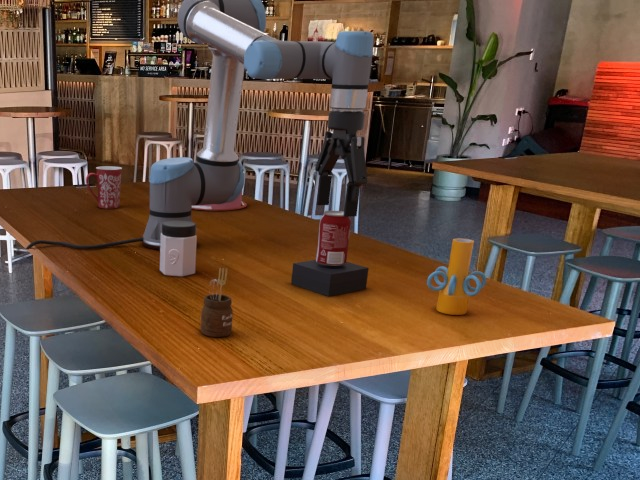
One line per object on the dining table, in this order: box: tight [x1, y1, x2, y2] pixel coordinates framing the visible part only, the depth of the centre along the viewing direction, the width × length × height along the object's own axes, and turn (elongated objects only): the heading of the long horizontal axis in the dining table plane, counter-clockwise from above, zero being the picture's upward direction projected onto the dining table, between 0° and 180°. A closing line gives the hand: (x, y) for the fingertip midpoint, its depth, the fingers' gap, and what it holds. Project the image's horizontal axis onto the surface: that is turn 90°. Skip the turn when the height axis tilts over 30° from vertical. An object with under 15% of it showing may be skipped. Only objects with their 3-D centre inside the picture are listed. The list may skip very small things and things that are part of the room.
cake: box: [191, 191, 248, 212], centre depth 282 cm, size 25×25×11 cm
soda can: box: [315, 210, 352, 268], centre depth 179 cm, size 7×7×12 cm
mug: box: [85, 165, 123, 210], centre depth 275 cm, size 13×9×14 cm
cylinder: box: [426, 237, 487, 316], centre depth 163 cm, size 12×10×15 cm
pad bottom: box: [290, 273, 368, 297], centre depth 183 cm, size 12×12×2 cm
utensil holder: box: [200, 267, 234, 338], centre depth 149 cm, size 6×6×12 cm
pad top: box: [291, 259, 369, 285], centre depth 182 cm, size 12×12×2 cm
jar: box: [159, 220, 198, 278], centre depth 192 cm, size 9×8×12 cm
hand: (335, 210), depth 177 cm, fingers open, 13 cm apart
